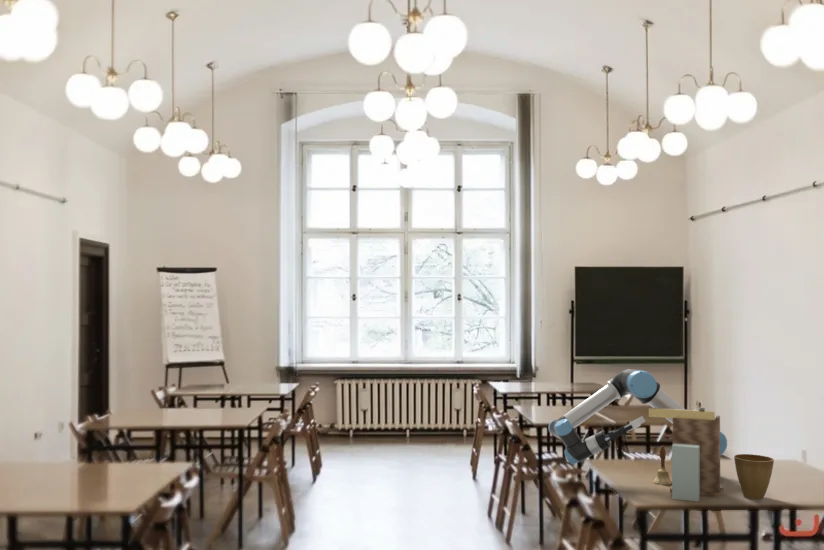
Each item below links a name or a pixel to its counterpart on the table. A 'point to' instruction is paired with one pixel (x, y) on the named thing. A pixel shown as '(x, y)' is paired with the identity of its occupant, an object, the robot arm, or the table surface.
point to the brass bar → (682, 414)
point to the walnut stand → (702, 450)
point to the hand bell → (662, 470)
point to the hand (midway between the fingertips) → (641, 420)
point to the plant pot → (753, 474)
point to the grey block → (686, 472)
